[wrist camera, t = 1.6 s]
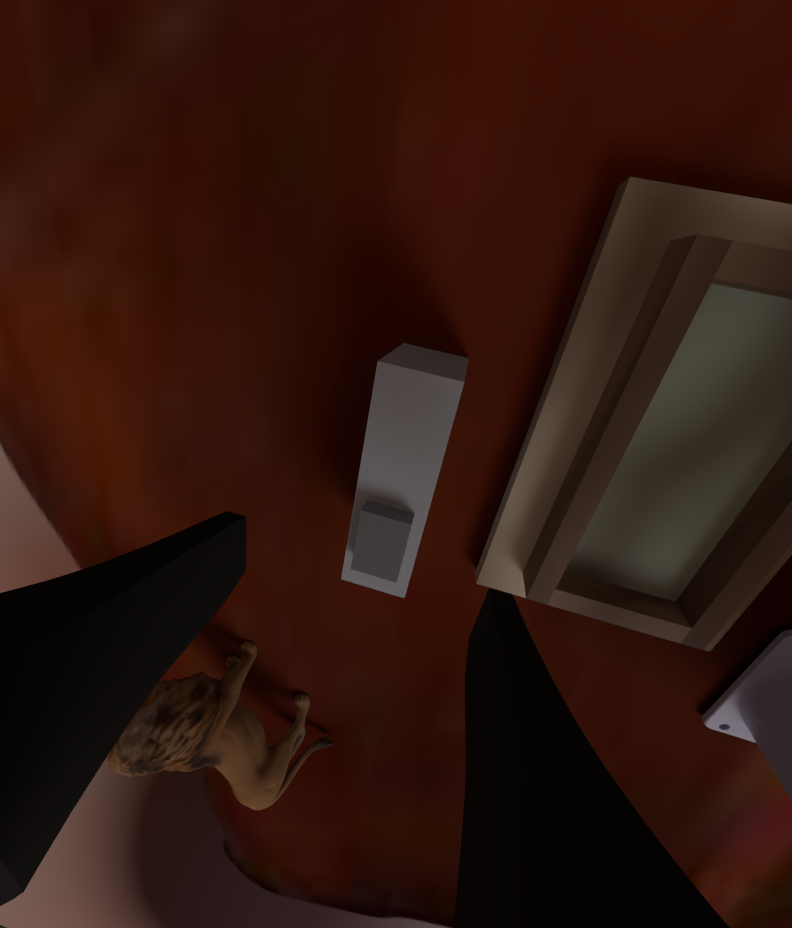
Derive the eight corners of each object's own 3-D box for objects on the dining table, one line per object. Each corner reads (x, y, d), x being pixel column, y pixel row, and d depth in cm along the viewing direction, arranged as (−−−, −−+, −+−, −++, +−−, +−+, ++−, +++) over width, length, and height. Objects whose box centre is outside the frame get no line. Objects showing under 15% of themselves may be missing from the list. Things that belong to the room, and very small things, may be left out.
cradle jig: (1000, 252, 12) (1147, 241, 9) (697, 632, 20) (730, 684, 18) (618, 185, 13) (652, 159, 11) (476, 568, 21) (475, 608, 19)
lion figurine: (182, 635, 30) (72, 761, 22) (215, 607, 28) (106, 736, 20) (316, 743, 32) (261, 892, 24) (356, 726, 30) (311, 884, 22)
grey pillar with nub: (468, 357, 17) (463, 387, 12) (420, 534, 21) (401, 611, 16) (404, 342, 17) (371, 365, 12) (369, 519, 22) (335, 591, 17)
